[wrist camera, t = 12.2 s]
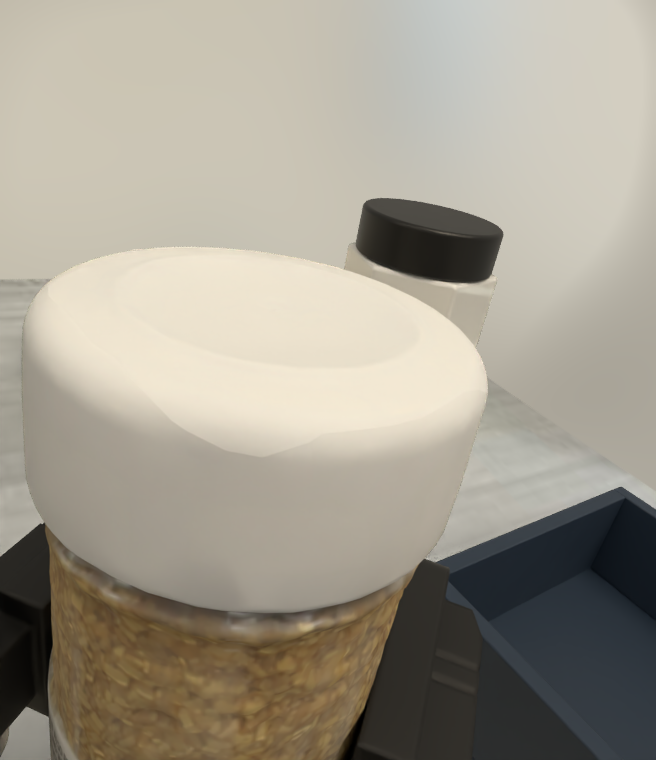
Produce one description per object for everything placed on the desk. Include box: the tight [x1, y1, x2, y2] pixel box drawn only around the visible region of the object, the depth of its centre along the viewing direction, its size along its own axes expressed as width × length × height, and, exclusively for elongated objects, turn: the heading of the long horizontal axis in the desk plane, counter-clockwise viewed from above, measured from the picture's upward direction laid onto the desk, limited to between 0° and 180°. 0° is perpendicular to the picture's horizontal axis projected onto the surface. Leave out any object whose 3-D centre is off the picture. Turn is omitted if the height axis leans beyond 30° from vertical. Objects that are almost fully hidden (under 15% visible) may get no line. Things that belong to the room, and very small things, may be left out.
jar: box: [344, 198, 503, 348], centre depth 37 cm, size 9×8×12 cm
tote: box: [435, 487, 656, 760], centre depth 19 cm, size 12×11×5 cm
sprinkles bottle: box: [22, 247, 488, 760], centre depth 9 cm, size 5×5×13 cm
